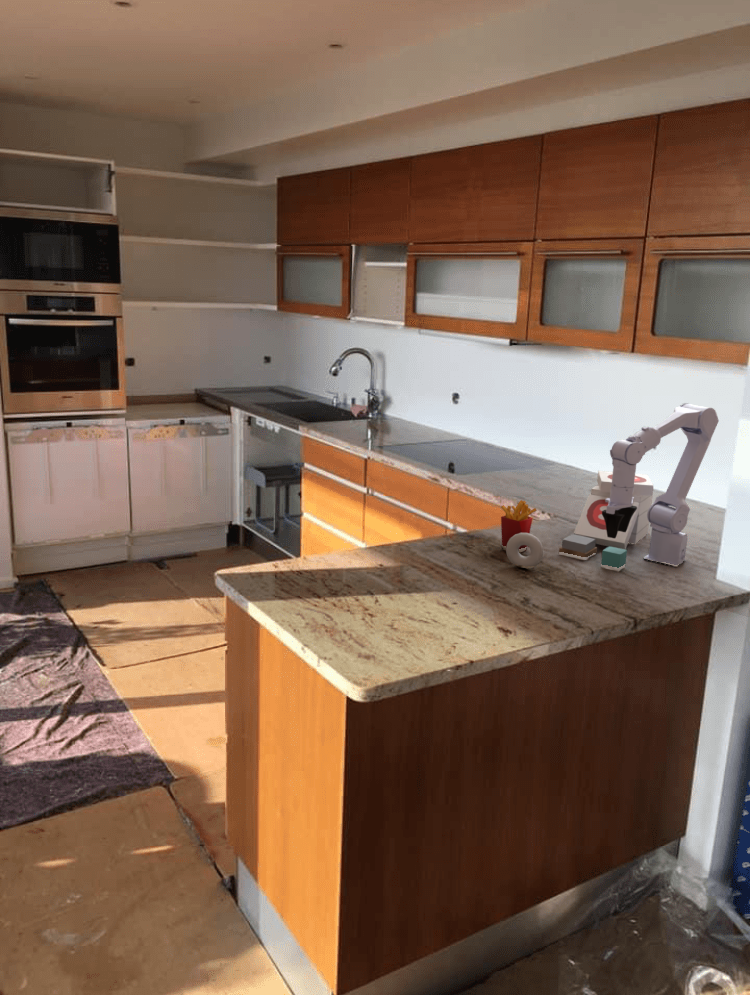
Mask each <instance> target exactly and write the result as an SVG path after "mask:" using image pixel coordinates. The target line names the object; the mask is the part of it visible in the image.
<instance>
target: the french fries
mask: <svg viewBox="0 0 750 995" xmlns="http://www.w3.org/2000/svg"><path fill="white" fill-rule="evenodd" d="M500 507H501V509H502V510H503V511H504V513H505V515H503V516H501V517H500V526H501V528H500V529H501V531H500V532H501V546H502V545H503V546H506V547H507V543H508V541H509V540H510V538H511V537H513V536H514V535H515V534H518V533H529V534H531V533H530V532H531V528H532V523H533V517H531V515H532V514H534V513H535V512H537V508H535V507H534V508H532V509H531V507H529V504H527V502H526V501H525V500H522V499H521V500H519V501H518V503H517V505H516V506H514V505H507V507H506V506H505V505H503V504H502V505H501V506H500ZM511 509H512V510H513V512H512V510H511ZM525 547H528V546H526V545H522V546H520V547H519V549H521V548H525Z"/></svg>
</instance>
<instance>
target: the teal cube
mask: <svg viewBox="0 0 750 995" xmlns="http://www.w3.org/2000/svg"><path fill="white" fill-rule="evenodd" d="M627 555H628V549H620V548H615V547H611V546H606V547H605V548H604V549H603V550H602V553H601V561H600V562H601V563H600V565H601V564H602V565H608V566H612V567H617V568H619V567H621V566H623V565H624V564H627Z"/></svg>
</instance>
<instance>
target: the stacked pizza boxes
mask: <svg viewBox="0 0 750 995" xmlns="http://www.w3.org/2000/svg"><path fill="white" fill-rule="evenodd" d="M612 475H613V471H605V470H598V471H597V478H596V481H597V485H595V486H593V487H592V488H591V490H590V493H589V494H588V497H587V499H586V501H585V505H584V507H583V509H582V511H581V514H580V516H579V519H578V522H577V524H576V527H575V528H574V531H573V534H575V535H580V536H584V537H589V538H593V539H596V542H595V545H599V546H600V545H601V546H606V547H609V546H611V547H615V548H620V549H624V550H627V546H628V545H629V544H628V542H629V543H634V544H635V543H637V542H638V541H639V540H640V539H641V540H642V539H643V538H644V537H646V536H647V535H648V534H647V533H649V527H650V522H649V521H648V518H647V513H648V510H649V508H650V506H651V505H652V504H653V495H654V484H653V482H652V480H651V478H650V477H649V475H648V474H646V473H645V474H644V473H635V480H634V489H633V497H634V500H633V504H632V506H636V507H637V509H636V511H635V512H634V514H633V516H632V518H631V520H630V523H629V525H628V528H627V531H626V532H621V531H618V533H617V536H616V538H610V537H607V530H606V524H605V520H604V518H603V515H602V511H603V510H607V506H608V504H609V503H608V502H605V499H607V498H610V493H611V484H612ZM646 534H647V535H646ZM641 540H640V541H641ZM640 541H639V542H640ZM639 542H638V543H639ZM638 543H637V544H638Z"/></svg>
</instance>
